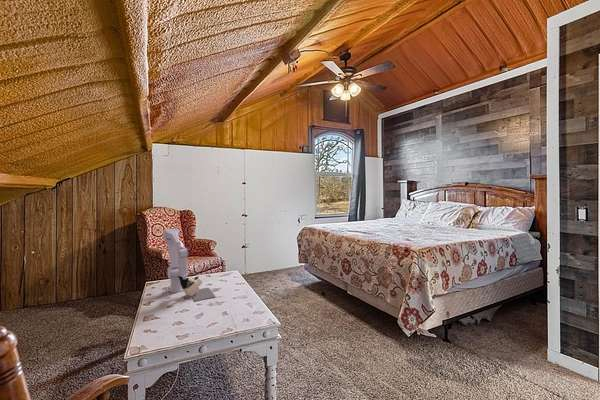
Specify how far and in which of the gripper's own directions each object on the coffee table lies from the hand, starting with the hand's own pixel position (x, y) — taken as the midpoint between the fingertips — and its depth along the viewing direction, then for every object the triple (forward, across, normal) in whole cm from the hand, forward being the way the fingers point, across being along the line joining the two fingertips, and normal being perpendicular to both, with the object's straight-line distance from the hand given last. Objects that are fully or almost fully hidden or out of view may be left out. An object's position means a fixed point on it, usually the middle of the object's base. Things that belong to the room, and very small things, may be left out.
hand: (183, 287), depth 185 cm
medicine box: (+3, +2, +1) cm, 4 cm away
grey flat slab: (+6, +3, +11) cm, 13 cm away
